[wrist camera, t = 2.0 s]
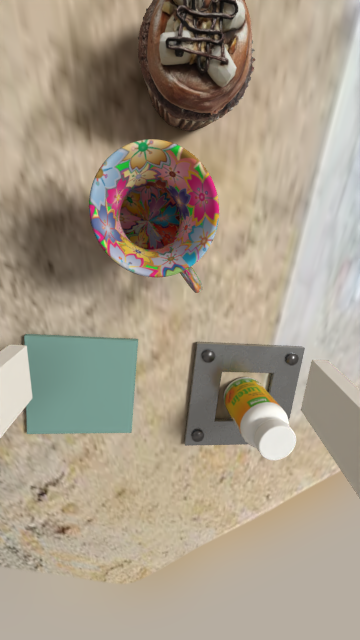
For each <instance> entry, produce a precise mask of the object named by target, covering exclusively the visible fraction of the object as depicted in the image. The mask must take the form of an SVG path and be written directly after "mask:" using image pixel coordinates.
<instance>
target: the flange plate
mask: <svg viewBox="0 0 360 640" xmlns="http://www.w3.org/2000/svg"><path fill="white" fill-rule="evenodd" d="M304 349H305V348H304V347H300V346H278V345H256V344H235V343H213V342H196V350H195V358H194V366H193V374H192V382H191V391H190V399H189V407H188V415H187V423H186V432H185V440H184V444H185V445H231V444H248V443H247V442H246V441H245V440H244V438H243V437H242V435H241V433H240V431H239V429H238V428H237V426H236V424H235V422H234V421H233V419H215V414H216V407H217V401H218V394H219V387H220V380H221V374H222V372H259V373H272V374H271V379H270V384H269V389H268V393H269V394H270V395H271V396H272V397H273V399H274V400H275V401H276V402H277V403H278V404H279V405H280V406H281V407H282V409H283V410H284V411H285V413H286V414H287V417H288V420H289V418H290V413H291V409H292V404H293V399H294V395H295V390H296V386H297V381H298V376H299V372H300V367H301V363H302V358H303V353H304Z"/></svg>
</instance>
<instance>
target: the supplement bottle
mask: <svg viewBox="0 0 360 640" xmlns="http://www.w3.org/2000/svg"><path fill="white" fill-rule="evenodd" d="M223 399H224V404H225V406H226V408H227V410H228V412H229V414H230V415H231V417H232V419H233V421H234V422H235V424H236V426H237V428H238V429H239V431H240V433H241V435H242V437H243V438H244V440H245V441H246V442H247V443H248V444H249V445H251V446H253V447H255V448H257V449H258V451H259V452H260V454H261V455H262V456H263V457H264V458H266V459H269V460H279V459H282V458H284V457H286V456H287V455H289V454H290V453H291V452H292V450H293V449H294V447H295V444H296V436H295V433H294V431H293V430H292V429H291V428H290V426H289V420H288V417H287V414H286V413H285V411H284V410H283V409H282V407H281V406H280V405H279V404H278V403H277V402H276V401H275V400H274V399H273V397H272V396H271V395H270V394H269V393H268V392H267V391H266V390H265V389H264V387H263V386H262V385H261V384H260V383H259V382H258V381H256V380H255V379H253V378H249V377H242V378H238V379H236V380H234V381H233V382H231V383H230V384H229V385H228V387H227V388H226V390H225V392H224V397H223Z"/></svg>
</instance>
